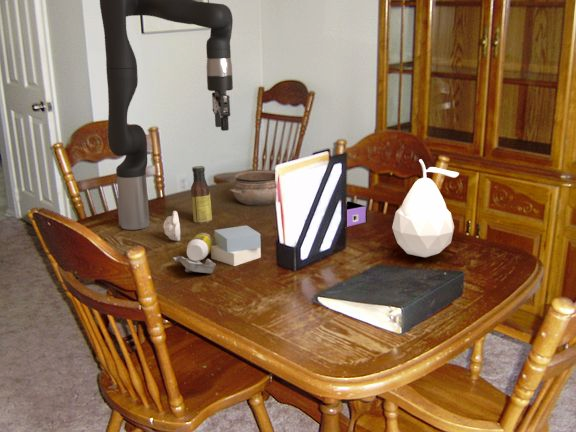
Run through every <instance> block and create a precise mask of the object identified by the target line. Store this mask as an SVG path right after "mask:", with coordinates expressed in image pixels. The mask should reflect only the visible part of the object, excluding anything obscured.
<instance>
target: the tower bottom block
mask: <svg viewBox="0 0 576 432" xmlns="http://www.w3.org/2000/svg"><path fill="white" fill-rule="evenodd" d="M261 248H262V247H261ZM261 248H254V249H248V250H242V251H236V252H230V253H227V252H226V251H224V250H223V249H222V248H220V247H219V246H218V245H216V244H215V245H213V246H211V251H210V257H211V258H210V259H211V260H214V261H218V262H221V263H224V264H227V265H230V266H233V267H236V266H238V265H243V264H245V263H247V262H251V261H254V260H257V259H261V258H262V256H261V255H262V252H261V251H262V249H261Z"/></svg>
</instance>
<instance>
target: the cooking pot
mask: <svg viewBox="0 0 576 432" xmlns="http://www.w3.org/2000/svg"><path fill="white" fill-rule="evenodd" d="M234 177H235V178H236V179H235V181H234V185H233V188H229V190H228V191H229V192H232V193H233V195H234V197H235V199H236V200H237V202H239V203H241V204H242V205H246V206H253V207H254V206H255V207H263V206H270V205H274V204H276V203H275V170H249V171H241V172H238V173H236V174H235V175H234Z"/></svg>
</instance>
